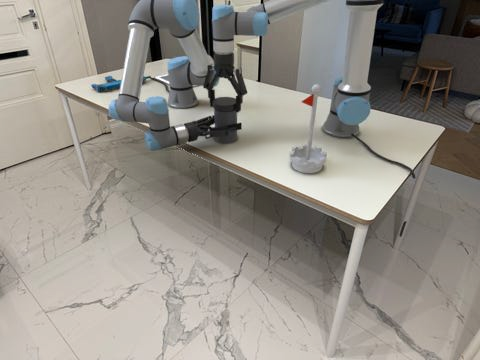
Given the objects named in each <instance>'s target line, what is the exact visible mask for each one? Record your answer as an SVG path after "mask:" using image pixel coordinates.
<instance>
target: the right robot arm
mask: <svg viewBox="0 0 480 360" xmlns="http://www.w3.org/2000/svg"><path fill="white" fill-rule="evenodd" d="M329 1H330V0H268V1H265V2H263V3H260V4H258V5H256V6H255V5H254V6H251V7H250V8H248V9H247V10H246V11H235V9H234V6H233V5H231V4H217V5H216V4H215V5H214V6H213V7H212V14H211V15H212V17H211V18H212V19H211V24H212V25H211V26H212V44H213V45H212V46H213V52H214V53H213V61H214V63H215V65H213V64H210V65H208V66H207V69H208V71H207V75H206V78H205V82H204V86H202V87H203V89H206V90H207V97H208V99H209V107H210V108H213V100H214V99H216V90H215V89H214V87H216V86H215V84H216V82H217V81H218V79H219V78H220V79H226V80H227V81H228V82H229V83H230V84H231V86H232V88H233V90H234V92H235V93H236V96H235V99H236V112H237V114H238V113H239V112H241V111H242V104H243V103H244V99H243V98H244V96H245V95H248V90H247V86H246V84H245V83H246V82H245V79H244V76H243V69H242V67H239V68H237V67H235V65H234V64H235V53H234V51H235V36H246V37H247V36H250V37H262V36H263V37H264V36H266V35H267V34H268V26H269V25H270V24H273V23H276V22H278V21H281V20H283V19H285V18H289V17H291V16H293V15H296V14H298V13H301V12H303V11H306V10H308V9H311V8H313V7H316V6H319V5H321V4H323V3H327V2H329ZM384 2H385V1H384V0H345V7H346V8H347V9H348V10H349V15H348V26H347V36H346V44H345V45H346V46H345V55H344V66H343V75H342V76H341V77H337V78H335V79H334V82H333V85H332V87H333V88H332V93H331V101H330V107H329V112H328V115H327V117H326V120H325V121H324V123H323V126H322V130H323V132H324V133H325V134H326V135H329V136H332V137H335V138H339V139H341V138H342V139H349V138H354V139H355V140H356V141H358V142H360V143H361V144H362V146H364V147H365V148H366V149H367V150H368V151H369V152H370V153H371V154H372V155H374V156H376V157H377V158H379V159H381V160H383V161H385V162H388V163H390V164H395V165H398V166H400V167H402V168H404V169H406V170H408V171H409V173H410V174H411V178H413V179H416V174H415V172H414V170H413V169H412V168H411V167H409V166H408V165H406V164H404V163H402V162H399V161H396V160H392V159H389V158H387V157H385V156H383V155H381V154H379V153H377V152H376V151H374V150H373V149H372V148H371V147H370V145H368V144H367V143H365V141H363V140H362V139H361V138H359V137H358V136H357V135H359V132H360V125H359V124H362V123H363V122H365V121H366V120H367V119H368V117H369V116H370V114H371V103H370V96H371V90H372V86H371V85H370V84H369V83H368V80H369V79H368V78H369V71H370V65H371V57H372V50H373V43H374V36H375V29H376V22H377V15H378V10H379V9H380V8H381V7H382V6H383V5H384ZM214 69H215V71H216V74H215V75H214V78H213V79H212V81H211V78H212V74H213V70H214ZM210 81H211V83H210ZM209 84H210V85H209ZM407 222H408V221H407V220H405V221H403V223H402V226H401V228H400V232H399V234H398V235H399V237H400V238H402V237H403V234H404V230H405V228H406V225H407Z"/></svg>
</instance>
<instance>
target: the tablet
mask: <svg viewBox="0 0 480 360" xmlns="http://www.w3.org/2000/svg"><path fill="white" fill-rule="evenodd" d="M153 78H154V79H157V80H159V81H162V82H164V83H165V84H166V85H168V86H170V83H169V75H168V73H167V74H163V75H157V76H154V77H153ZM198 86H200V85H193V88H195V87H198Z"/></svg>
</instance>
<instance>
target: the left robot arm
mask: <svg viewBox="0 0 480 360" xmlns="http://www.w3.org/2000/svg"><path fill="white" fill-rule="evenodd" d="M199 24H200V12H199V6H198V3H197V0H139V1H138V2H137V3H136V5H135V6H134V8H133V9H132V11H131V13H130V16H129V19H128V23H127V29H128V31H129V34H128V41H127V44H126V51H125V57H124V62H123V67H122V74H121V78H120V80H121V85H120V87H119V92H118V96H117V99H112V100H111V101H110V103H109V105H108V114H109V116H110V117H111V118H112V119H113V120H116V121H122V122H133V123H139V124H148V126H149V130H148V131H145V132H144V141H145V144H146V147H147V148H148V149H147V150H149V151H150V152H151V151H152V152H154V151H159V150H161V151H162V150H164V149H168V148H171V147H174V146H181V145H184V144H187V143H193V142H196V141H198V139H199V137H204V139H205V140H209V139H213V138H214V139H215V137H223V136H229V132H232V131H236V130H237V131H240V130H243V123H242V122H237V123H236V124H232V125H228V126H227V127H215V126H212V125H215V122H214V114H213V115H208V116H205V117H203V118H200V119H197V120H191V121H189V122H184V123H180V124H175V125H172V126H171V123H170V122H171V121H170V113H169V111H170V109H169V107H171V108H173V109H189V108H193V107H195V106H197V105H198V97H197V95H196V93H195V90H194V87H193V85H199V86H201V87H203V86H204V82H205V78H206V75H207V71H208V69H207V66H208V65H210V64H213V65H215V63H214V58H213V57H212V56H211V55H209V54H208V53H207V50H206V48H205V45H204V43H203V41H202V39H201V36H200V34H199V32H198V29H197V28H198V27H199ZM157 29H161V30H163V29H164V30H168V32H169V33H170V35H171V36H172V37H174V38H175V39H177V40H178V42H179V44H180V46H181V47H182V50H183V52H184V53H185V55H182V56H177V57H173V58H170V59H169V60H168V61H167V74H168V75H169V83H170V85H169V88H168V84H167V83H165V82H162V81H160V80H158V79H156V78H154V77H151V78H149V79H151V80H153V81H155V82H158V83H160V84H162V85H164V87H165V90H166V91H167V92H168V93H169V94H168V99H166V98H165V97H163V96H157V95H156V96H149V97H148V98H146V99H145V101H140V97H141V93H142V92H141V91H142V87H143V83H144V82H143V76H145V70H146V64H147V58H148V53H149V47H150V43H151V42H150V41H151V38H152V37H154V36H155V35H154V34H155V30H157ZM215 74H216V71H215V69H214V70H213V74H212V78H211V81H212V79H213V78H214V75H215ZM220 79H221V78H219V79H218V81H217V82H216V84H215V86H214V87H217V86H218V85H219V83H220ZM211 81H210V83H211ZM209 85H210V84H209ZM168 106H169V107H168Z"/></svg>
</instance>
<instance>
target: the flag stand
mask: <svg viewBox="0 0 480 360" xmlns="http://www.w3.org/2000/svg"><path fill="white" fill-rule="evenodd" d="M321 91H322V86H321V85H320V84H318V83H316V84H313V85H312V86H311V92H312V94H310V95H309V96H308V97H306V98H305V99H303V100H302V101H301V103H303V104H305V105H307V106H309V107H311V108H310V109H311V110H310V117H309V125H308V126H309V127H308V135H307V143H304V144H302V146H301V147H299V146H298V145H294V146H293V147H292V148H291V150H290V151H289V160H290V161H291V167H292V168H293V169H294V170H295V171H297V172H299V173H303V174H315V173H318V172H320V171H321V170H323V165H325V163H326V162H327V157H328V153H327V151H326V150H323V148H322V147H320V146H319V145H315V146H314V147H312V146H313V139H314V130H315V121H316V115H317V107H318V98H319V94H320V92H321Z"/></svg>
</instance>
